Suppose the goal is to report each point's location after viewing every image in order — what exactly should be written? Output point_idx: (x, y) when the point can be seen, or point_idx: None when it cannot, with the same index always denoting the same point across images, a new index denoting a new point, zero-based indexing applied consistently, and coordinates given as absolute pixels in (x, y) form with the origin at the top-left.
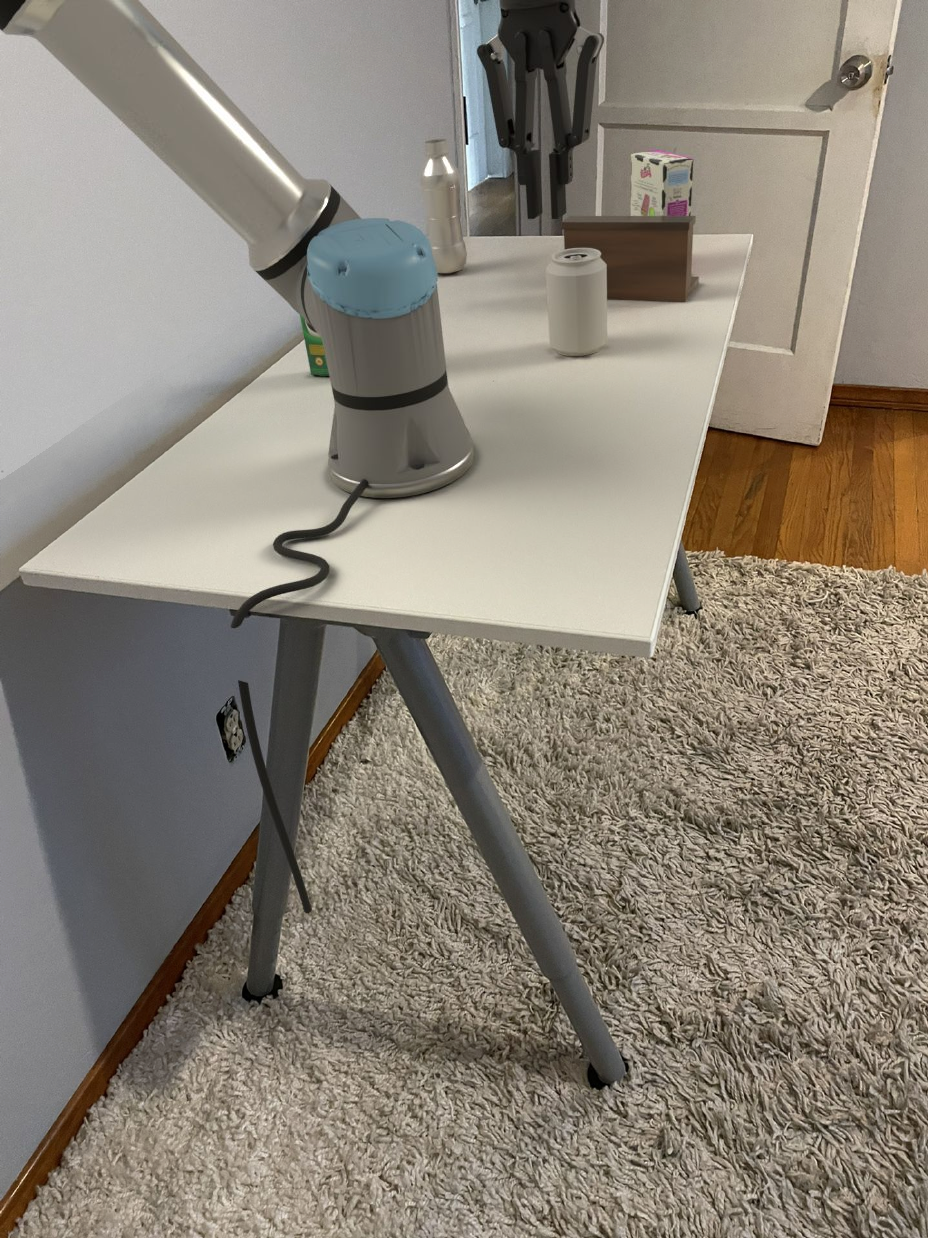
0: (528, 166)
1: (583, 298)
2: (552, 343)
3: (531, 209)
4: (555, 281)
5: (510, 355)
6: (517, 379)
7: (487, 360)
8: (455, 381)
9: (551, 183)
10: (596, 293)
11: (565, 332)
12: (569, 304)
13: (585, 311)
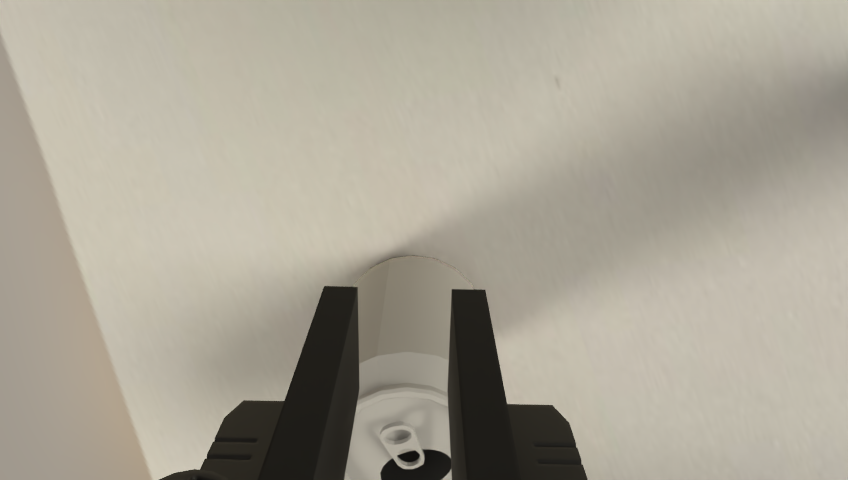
0: (485, 448)
1: (364, 328)
2: (463, 279)
3: (463, 308)
4: (448, 349)
5: (566, 249)
6: (498, 104)
7: (616, 211)
8: (660, 63)
9: (327, 378)
10: None
11: (420, 275)
12: (404, 310)
13: (363, 311)
